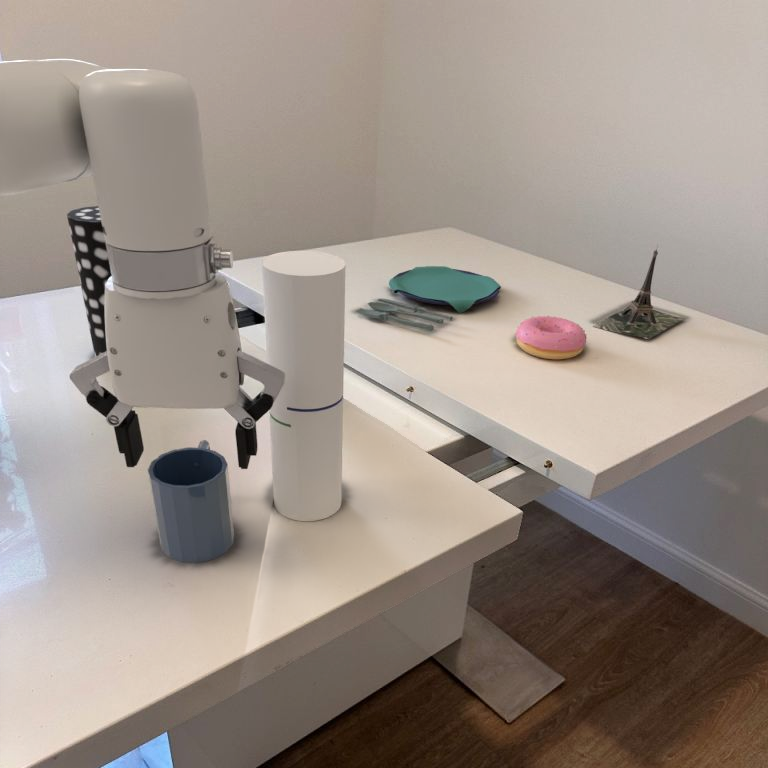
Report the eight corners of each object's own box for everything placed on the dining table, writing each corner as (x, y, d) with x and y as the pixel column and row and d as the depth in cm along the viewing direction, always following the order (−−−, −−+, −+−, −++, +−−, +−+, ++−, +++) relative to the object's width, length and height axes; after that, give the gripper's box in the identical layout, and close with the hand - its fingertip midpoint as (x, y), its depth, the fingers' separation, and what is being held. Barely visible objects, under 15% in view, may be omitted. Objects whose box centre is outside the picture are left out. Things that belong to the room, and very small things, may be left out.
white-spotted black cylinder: (125, 345, 107) (100, 202, 95) (169, 357, 104) (150, 212, 93) (83, 364, 101) (52, 215, 89) (129, 378, 98) (103, 225, 86)
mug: (228, 569, 67) (220, 488, 61) (154, 567, 66) (139, 486, 61) (244, 503, 75) (238, 427, 70) (179, 501, 75) (168, 425, 70)
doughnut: (528, 365, 108) (533, 338, 106) (504, 337, 117) (507, 312, 114) (595, 361, 110) (601, 336, 108) (566, 334, 119) (571, 310, 116)
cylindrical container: (332, 525, 73) (334, 279, 58) (265, 515, 74) (250, 270, 59) (347, 487, 79) (353, 255, 64) (284, 479, 79) (276, 247, 65)
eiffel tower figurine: (648, 343, 117) (671, 260, 110) (592, 326, 123) (610, 246, 115) (684, 321, 127) (707, 243, 119) (631, 306, 132) (650, 230, 124)
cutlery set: (515, 292, 135) (517, 280, 134) (439, 340, 114) (441, 326, 113) (424, 271, 144) (425, 259, 142) (337, 311, 123) (337, 298, 121)
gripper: (283, 252, 57) (292, 441, 67) (62, 247, 56) (104, 437, 66) (273, 282, 51) (285, 484, 61) (25, 276, 50) (78, 481, 60)
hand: (190, 460), depth 63 cm, fingers open, 9 cm apart
